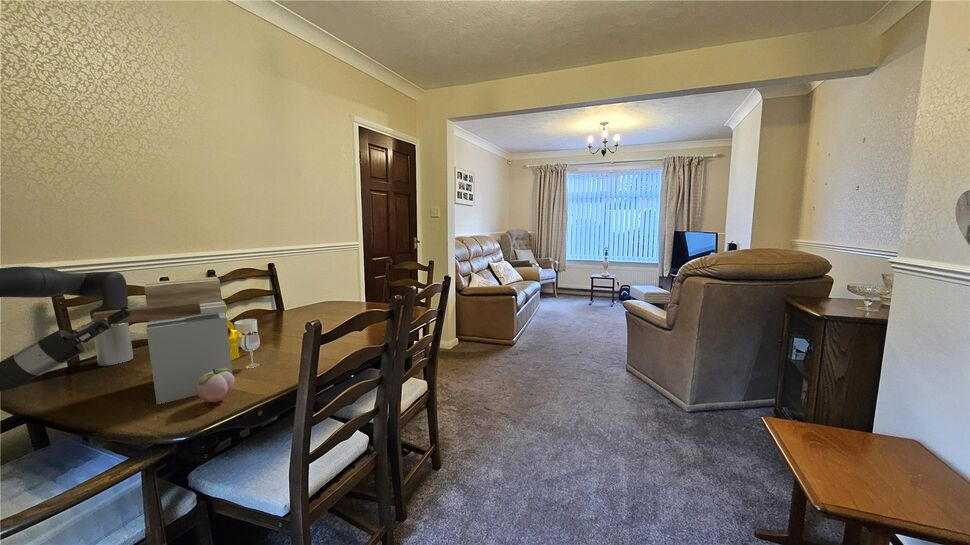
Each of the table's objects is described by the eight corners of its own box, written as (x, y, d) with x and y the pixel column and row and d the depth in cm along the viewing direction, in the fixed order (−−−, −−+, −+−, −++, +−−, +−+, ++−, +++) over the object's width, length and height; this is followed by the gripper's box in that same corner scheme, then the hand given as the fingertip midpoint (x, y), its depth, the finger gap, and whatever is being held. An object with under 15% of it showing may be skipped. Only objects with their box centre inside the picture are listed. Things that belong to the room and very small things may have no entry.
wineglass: (239, 367, 129) (235, 334, 127) (254, 362, 134) (251, 330, 132) (250, 370, 126) (247, 336, 125) (265, 364, 132) (262, 331, 130)
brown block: (97, 322, 100) (96, 310, 99) (223, 307, 117) (222, 297, 117) (92, 328, 94) (90, 316, 93) (226, 312, 111) (225, 302, 111)
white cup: (248, 348, 148) (245, 324, 147) (231, 347, 150) (229, 323, 148) (263, 342, 156) (261, 319, 154) (247, 341, 157) (245, 318, 156)
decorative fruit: (214, 394, 109) (211, 362, 108) (241, 394, 109) (238, 362, 107) (188, 410, 100) (184, 375, 98) (218, 410, 100) (214, 375, 98)
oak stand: (159, 379, 120) (146, 282, 115) (226, 365, 131) (217, 276, 127) (158, 389, 112) (144, 286, 108) (229, 373, 124) (219, 280, 119)
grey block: (158, 393, 110) (148, 322, 107) (230, 376, 121) (223, 312, 118) (156, 404, 103) (146, 328, 100) (233, 386, 114) (226, 317, 111)
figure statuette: (205, 369, 128) (198, 307, 124) (195, 364, 132) (187, 305, 128) (258, 353, 143) (253, 298, 140) (247, 349, 147) (242, 295, 144)
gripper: (27, 349, 85) (113, 303, 93) (44, 334, 96) (120, 295, 104) (56, 371, 88) (136, 326, 97) (69, 355, 99) (141, 315, 107)
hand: (127, 310), depth 100 cm, fingers closed on brown block, 3 cm apart
